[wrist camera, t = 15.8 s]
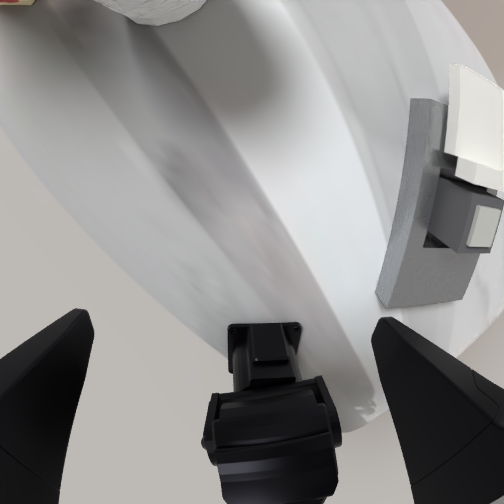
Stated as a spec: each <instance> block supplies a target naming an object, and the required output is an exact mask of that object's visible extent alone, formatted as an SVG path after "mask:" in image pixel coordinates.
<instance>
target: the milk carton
mask: <svg viewBox="0 0 504 504" xmlns="http://www.w3.org/2000/svg"><path fill="white" fill-rule="evenodd" d="M34 1H35V0H0V5H32V4H33V2H34Z"/></svg>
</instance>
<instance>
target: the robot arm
mask: <svg viewBox="0 0 504 504" xmlns="http://www.w3.org/2000/svg"><path fill="white" fill-rule="evenodd" d="M295 327H297V328H295ZM232 329H235V330H232ZM300 334H301V325H300V323H298V322H290V323H258V324H230V325H229V326H228V369H229V372H230V373H232V374H233V382H234V392H231V393H223V394H219V393H212V396H211V401H210V402H209V406H208V412H207V416H206V421H205V427H204V432H203V438H202V440H201V444H202V447H203V448H204V449H206V450H207V453H208V456H209V459H210V461H211V463H212V464H213V465H214V466H217V467H218V472H219V476H220V481H221V488H222V497H223V499H224V500H225V502H226V503H227V504H323V503H324V501H325V499H326V498H327V497H329V496H332V495H333V494H334V492H335V489H336V487H337V484H338V467H337V460H336V454H335V448H336V447H340V446H341V445H342V434H341V426H340V421H339V417H338V413H337V410H336V407H335V405H334V403H333V400H332V398H331V396H330V394H329V391H328V389H327V387H326V384H325V382H324V380H323V378H322V376H317V377H315V378H313V379H308V380H303V381H302V378H301V374H300V370H299V366H298V362H297V358H296V353H297V349H298V344H299V339H300ZM93 340H94V329H93V326H92V323H91V319H90V316H89V313H88V311H87V310H85V309H77V308H75V309H73V310H72V311H70V312H68V313H67V314H65V315H64V316H62V317H61V318H60V319H58V320H56V321H55V322H53V323H52V324H50V325H49V326H47V327H46V328H44V329H43V330H41V331H40V332H38V333H37V334H35V335H34V336H32V337H31V338H30V339H28V340H27V341H25V342H24V343H22V344H21V345H19V346H18V347H17V348H15V349H14V350H12V351H11V352H10V353H8V354H7V355H5V356H4V357H2V358H1V359H0V504H58V503H59V495H60V491H59V490H60V487H61V480H62V473H63V467H64V462H65V457H66V452H67V447H68V442H69V438H70V434H71V429H72V425H73V421H74V417H75V413H76V409H77V406H78V402H79V398H80V395H81V391H82V388H83V385H84V381H85V377H86V373H87V368H88V363H89V358H90V353H91V348H92V344H93ZM371 343H372V348H373V352H374V356H375V360H376V364H377V368H378V373H379V377H380V381H381V384H382V388H383V391H384V394H385V397H386V400H387V403H388V406H389V409H390V412H391V415H392V419H393V422H394V425H395V428H396V432H397V435H398V439H399V442H400V446H401V449H402V453H403V457H404V460H405V464H406V469H407V472H408V476H409V481H410V484H411V490H412V494H413V499H414V504H504V389H503V388H501V387H499V386H498V385H496V384H494V383H492V382H491V381H489V380H487V379H486V378H485V377H483V376H482V375H480V374H479V373H477V372H476V371H474V370H471V369H470V367H468V366H467V365H465V364H463V363H462V362H461V361H459V360H458V359H456V358H455V357H453V356H452V355H450V354H449V353H447V352H446V351H444V350H443V349H441V348H439V347H438V346H436V345H435V344H433V343H432V342H430V341H429V340H427V339H426V338H424V337H423V336H421V335H420V334H418V333H417V332H415V331H413V330H412V329H410V328H409V327H407V326H406V325H404V324H403V323H401V322H399V321H398V320H396V319H395V318H393V317H382V318H380V319H379V320H378V323H377V325H376V327H375V330H374V332H373V334H372V338H371Z"/></svg>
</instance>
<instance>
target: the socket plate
mask: <svg viewBox="0 0 504 504" xmlns="http://www.w3.org/2000/svg"><path fill="white" fill-rule="evenodd" d="M447 120H448V106H447V105H445V104H442V103H440V102H437V101H434V100H432V99H416V98H411V103H410V116H409V128H408V137H407V146H406V154H405V161H404V168H403V175H402V181H401V187H400V192H399V198H398V203H397V208H396V213H395V218H394V222H393V227H392V231H391V236H390V240H389V244H388V248H387V252H386V256H385V260H384V263H383V267H382V271H381V274H380V278H379V281H378V285H377V288H376V291H375V293H376V294H377V296H378V297H379V299H380V300H381V301H382V303H383V304H384V306H385V307H386V309H390V308H400V307H409V306H418V305H426V304H434V303H442V302H449V301H456V300H462V299H463V296H464V294H465V292H466V289H467V287H468V284H469V282H470V280H471V277H472V274H473V272H474V269H475V266H476V264H477V261H478V258H479V255H480V253H456V252H455V251H453V250H452V249H451V248H450V247H448V246H447V245H446V244H445V243H443V242H442V241H441V240H439V239H438V238H437V237H435V236H434V235H433V234H432V233H430V232H429V231H428V226H429V222H430V218H431V213H432V209H433V204H434V200H435V195H436V190H437V185H438V179H439V176H441V177H446V178H451V179H455V180H460V181H464V182H467V183H470V184H472V185H474V186H476V187H478V188H480V189H482V190H484V191H486V192H489V193H491V194H493V195H495V196H496V195H497V190H495V189H491V188H488V187H484V186H480V185H476V184H473V183H471V182H468V181H466V180H464V179H462V178H459V177H457V176H455V173H456V167H457V161H458V156H455V155H452V154H449V153H445V152H444V148H445V140H446V131H447Z"/></svg>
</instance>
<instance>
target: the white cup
mask: <svg viewBox="0 0 504 504" xmlns="http://www.w3.org/2000/svg"><path fill="white" fill-rule="evenodd" d="M94 1H96V2H99V3H101V4H102V5H104V6H105V7H107V8H109V9H111V10H113V11H114V12H117V13H121V14H123V15H125V16H126V17H128V18H129V19H131V20H132V21H134V22H136V23H137V24H145V25H155V26H159V25H163V24H167V23H171V22H176V21H180V20H182V19H183V18H185V17H187V16H188V15H190V14H192V13H193V12H195V11H197V10H198V9H200V8H201V7H202V5H203V4H204V3H205V1H206V0H94Z"/></svg>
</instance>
